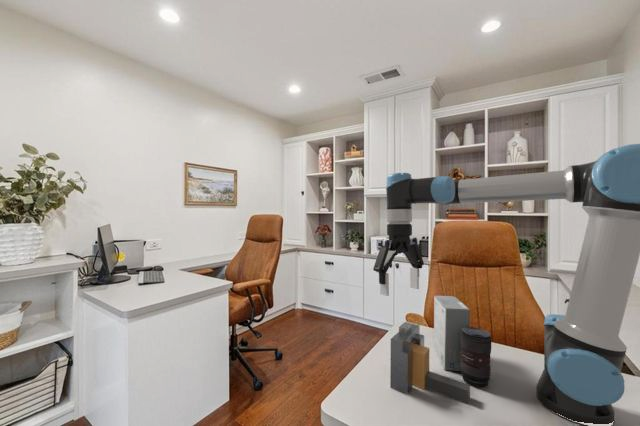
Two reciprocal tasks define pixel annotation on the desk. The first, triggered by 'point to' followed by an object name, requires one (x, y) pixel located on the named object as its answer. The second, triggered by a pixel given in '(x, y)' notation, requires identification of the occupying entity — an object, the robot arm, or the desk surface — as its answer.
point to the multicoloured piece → (435, 377)
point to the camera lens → (475, 356)
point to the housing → (404, 356)
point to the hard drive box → (449, 330)
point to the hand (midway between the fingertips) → (400, 291)
